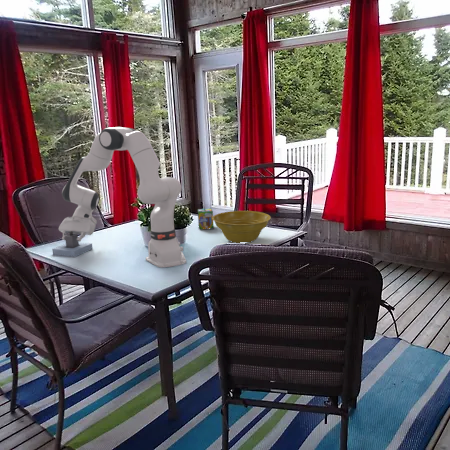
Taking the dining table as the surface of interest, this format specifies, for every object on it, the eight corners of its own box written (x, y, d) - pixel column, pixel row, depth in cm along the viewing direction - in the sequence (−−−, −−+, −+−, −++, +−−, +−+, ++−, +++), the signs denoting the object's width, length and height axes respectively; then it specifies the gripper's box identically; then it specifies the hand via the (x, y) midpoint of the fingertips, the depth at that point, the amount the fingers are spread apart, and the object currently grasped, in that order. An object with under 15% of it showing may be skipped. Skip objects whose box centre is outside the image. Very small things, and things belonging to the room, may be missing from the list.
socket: (92, 248, 222) (91, 243, 222) (74, 256, 210) (74, 251, 209) (71, 246, 227) (70, 241, 227) (52, 254, 215) (52, 248, 214)
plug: (79, 250, 220) (77, 230, 217) (73, 253, 216) (71, 232, 213) (72, 250, 221) (70, 230, 219) (67, 252, 217) (64, 232, 215)
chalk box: (213, 229, 256) (212, 205, 253) (198, 230, 255) (197, 206, 252) (212, 225, 265) (211, 202, 262) (198, 226, 264) (197, 203, 261)
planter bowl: (282, 243, 224) (282, 218, 221) (229, 252, 210) (228, 226, 207) (252, 230, 252) (252, 208, 249) (203, 237, 238) (202, 214, 235)
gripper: (62, 213, 224) (51, 235, 217) (93, 215, 217) (83, 238, 210) (68, 219, 229) (58, 241, 222) (99, 222, 222) (90, 244, 215)
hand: (70, 240), depth 216 cm, fingers open, 8 cm apart
